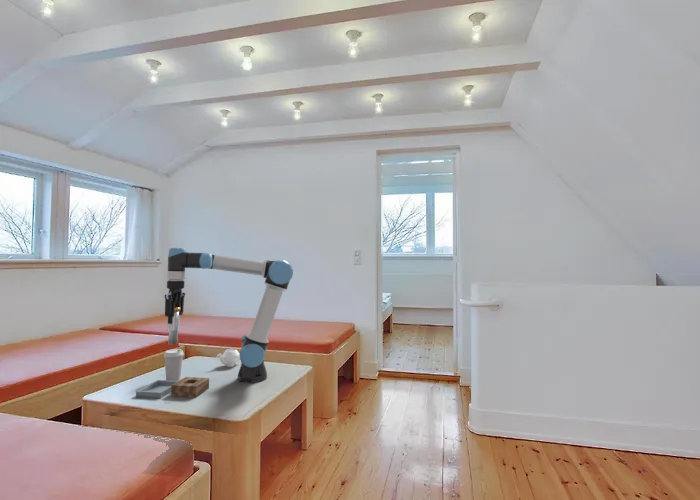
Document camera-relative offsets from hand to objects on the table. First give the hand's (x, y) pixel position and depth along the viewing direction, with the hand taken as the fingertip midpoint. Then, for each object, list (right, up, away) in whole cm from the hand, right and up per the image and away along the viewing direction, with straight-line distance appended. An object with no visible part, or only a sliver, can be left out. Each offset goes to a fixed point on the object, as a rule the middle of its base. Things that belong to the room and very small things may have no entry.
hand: (173, 329), depth 172 cm
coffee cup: (-8, -30, +16) cm, 35 cm away
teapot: (+13, -31, +43) cm, 54 cm away
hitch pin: (0, -7, 0) cm, 7 cm away
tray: (-6, -29, -1) cm, 30 cm away
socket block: (+9, -29, -1) cm, 31 cm away
